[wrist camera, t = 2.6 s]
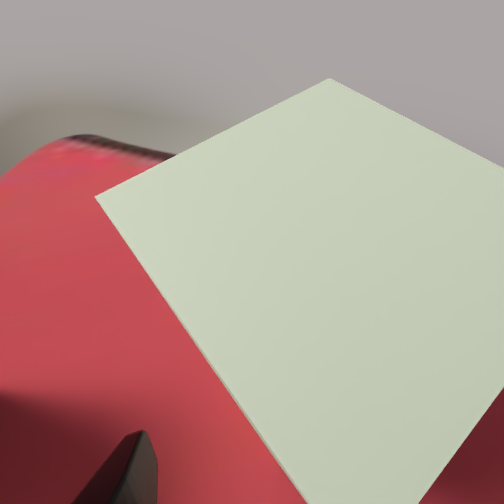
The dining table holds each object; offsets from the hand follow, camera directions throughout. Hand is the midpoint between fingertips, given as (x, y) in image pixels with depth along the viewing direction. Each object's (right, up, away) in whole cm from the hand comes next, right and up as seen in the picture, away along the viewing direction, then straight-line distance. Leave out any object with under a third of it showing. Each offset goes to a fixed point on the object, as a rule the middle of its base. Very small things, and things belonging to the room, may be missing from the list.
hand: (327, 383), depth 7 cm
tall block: (0, -4, +8) cm, 9 cm away
